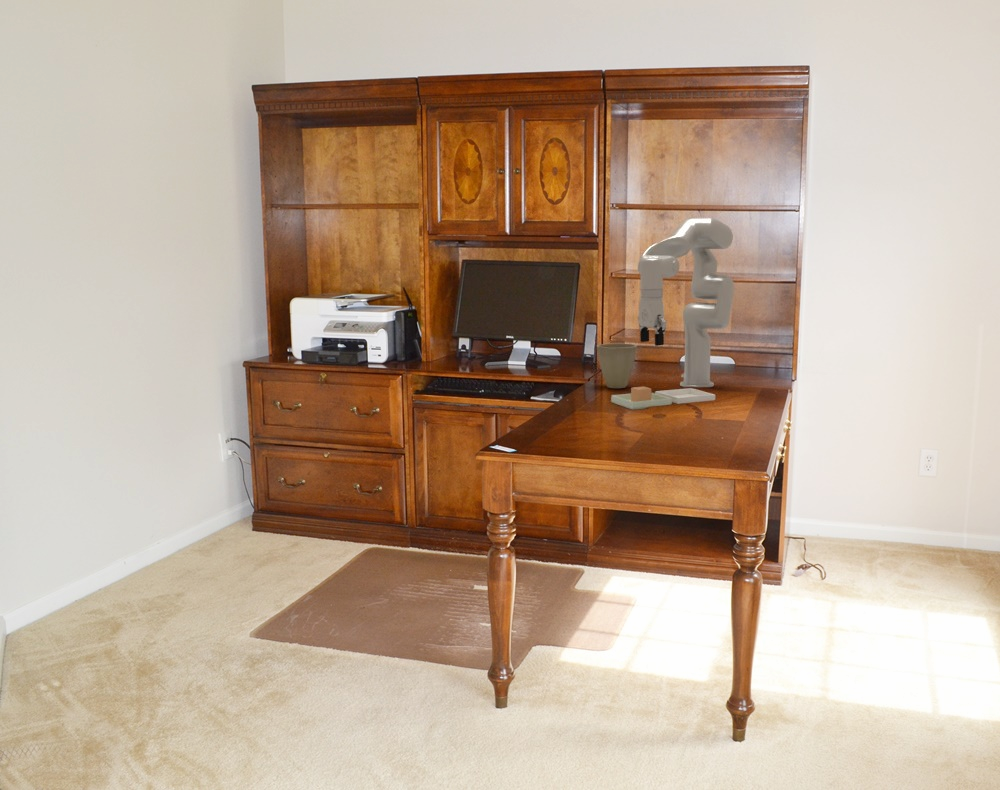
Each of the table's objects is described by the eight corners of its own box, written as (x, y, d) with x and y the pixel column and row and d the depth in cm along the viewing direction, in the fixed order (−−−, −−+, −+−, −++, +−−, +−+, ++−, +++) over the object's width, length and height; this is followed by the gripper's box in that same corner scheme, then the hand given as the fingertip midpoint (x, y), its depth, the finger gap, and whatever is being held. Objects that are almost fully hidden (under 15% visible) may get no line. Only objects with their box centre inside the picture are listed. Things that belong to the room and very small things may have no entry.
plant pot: (643, 386, 363) (644, 344, 361) (621, 391, 352) (621, 348, 350) (611, 382, 373) (612, 342, 370) (589, 387, 362) (589, 345, 360)
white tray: (655, 398, 338) (655, 391, 337) (691, 394, 343) (691, 388, 343) (677, 405, 324) (678, 398, 324) (715, 401, 330) (715, 394, 329)
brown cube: (631, 401, 329) (631, 387, 328) (643, 400, 330) (643, 386, 330) (638, 404, 324) (638, 389, 323) (651, 403, 326) (651, 388, 325)
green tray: (611, 402, 332) (611, 395, 331) (648, 398, 337) (649, 391, 337) (632, 409, 318) (632, 402, 317) (671, 406, 323) (671, 398, 323)
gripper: (629, 292, 332) (630, 341, 336) (655, 297, 316) (655, 347, 320) (648, 291, 335) (648, 339, 338) (674, 295, 319) (674, 345, 323)
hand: (651, 343), depth 329 cm, fingers open, 9 cm apart
